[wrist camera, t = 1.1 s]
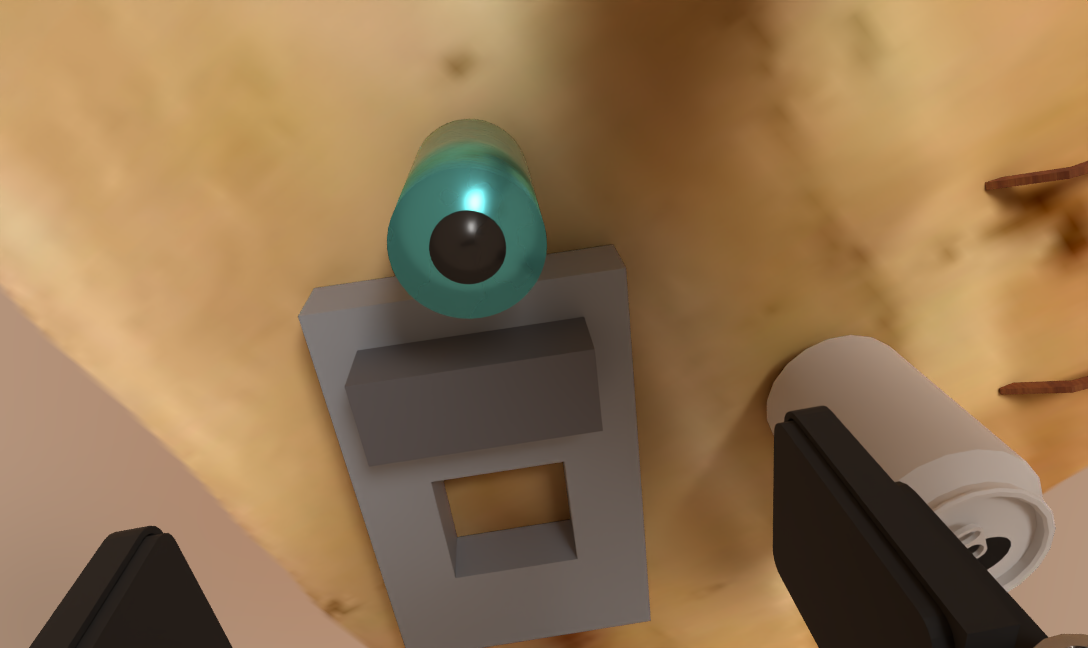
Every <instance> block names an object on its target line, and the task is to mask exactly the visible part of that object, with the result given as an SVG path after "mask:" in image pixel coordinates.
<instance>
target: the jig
mask: <svg viewBox="0 0 1088 648" xmlns="http://www.w3.org/2000/svg"><path fill="white" fill-rule="evenodd" d="M298 318H299V321H300V324H301V327H302V330H303V333H304V336H305V339H306V342H307V345H308V349H309V352H310V355H311V358H312V361H313V364H314V367H315V370H316V373H317V376H318V379H319V383H320V386H321V389H322V392H323V395H324V398H325V401H326V404H327V407H328V410H329V413H330V416H331V420H332V423H333V426H334V429H335V432H336V435H337V438H338V441H339V444H340V447H341V450H342V454H343V457H344V460H345V463H346V466H347V469H348V472H349V475H350V478H351V481H352V484H353V487H354V491H355V494H356V497H357V500H358V503H359V506H360V509H361V512H362V515H363V518H364V521H365V524H366V528H367V531H368V534H369V537H370V540H371V543H372V546H373V549H374V552H375V555H376V558H377V562H378V565H379V568H380V571H381V574H382V577H383V580H384V583H385V586H386V589H387V592H388V595H389V599H390V602H391V605H392V608H393V611H394V614H395V617H396V620H397V623H398V626H399V629H400V632H401V636H402V639H403V642H404V645H405V648H484V647H490V646H496V645H503V644H509V643H515V642H521V641H527V640H534V639H540V638H546V637H552V636H559V635H565V634H571V633H577V632H584V631H590V630H596V629H602V628H608V627H615V626H621V625H627V624H633V623H640V622H646V621H651V618H650V604H649V589H648V575H647V561H646V546H645V532H644V518H643V503H642V489H641V475H640V460H639V446H638V432H637V417H636V403H635V389H634V374H633V360H632V346H631V331H630V317H629V303H628V288H627V274H626V267H625V265H624V263H623V261H622V260H621V258H620V256H619V254H618V252H617V251H616V249H615V247H614V245H607V246H600V247H593V248H587V249H580V250H573V251H566V252H559V253H552V254H546V258H545V263H544V266H543V269H542V272H541V274H540V276H539V278H538V280H537V282H536V283H535V285H534V286H533V288H532V289H531V290H530V291H529V292H528V294H527V295H526V296H525V297H524V298H523V299H521V300H520V301H519V302H518V303H516V304H515V305H513V306H512V307H510V308H509V309H507V310H504V311H502V312H500V313H497V314H495V315H492V316H487V317H483V318H474V319H464V318H455V317H450V316H446V315H442V314H439V313H437V312H435V311H432V310H430V309H428V308H427V307H425V306H423V305H422V304H420V303H419V302H418V301H416V300H415V299H414V298H413V297H412V296H411V295H409V294H408V292H407V291H406V290H405V289H404V288H403V287H402V285H401V284H400V282H399V281H398V279H397V278H396V276H395V277H388V278H381V279H374V280H368V281H361V282H354V283H347V284H340V285H333V286H326V287H320V288H314V289H313V291H312V293H311V295H310V296H309V298H308V300H307V302H306V303H305V305H304V307H303V308H302V310H301V312H300V314H299V315H298ZM558 462H563V467H564V474H565V481H566V489H567V496H568V503H569V511H570V518H571V519H570V520H564V521H558V522H551V523H545V524H538V525H532V526H526V527H519V528H513V529H506V530H500V531H494V532H487V533H481V534H474V535H468V536H462V537H457V534H456V530H455V526H454V522H453V518H452V514H451V510H450V506H449V502H448V497H447V493H446V489H445V485H444V481H443V480H448V479H454V478H461V477H467V476H474V475H480V474H487V473H493V472H500V471H506V470H513V469H519V468H526V467H532V466H539V465H545V464H552V463H558Z"/></svg>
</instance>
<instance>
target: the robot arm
mask: <svg viewBox="0 0 1088 648" xmlns="http://www.w3.org/2000/svg"><path fill="white" fill-rule="evenodd" d="M773 555H774V560H775V564H776V567H777V570H778V572H779V574H780V576H781V578H782V580H783V582H784V584H785V586H786V588H787V589H788V591H789V593H790V595H791V597H792V599H793V601H794V602H795V604H796V606H797V608H798V610H799V612H800V614H801V615H802V617H803V619H804V621H805V623H806V625H807V627H808V628H809V630H810V632H811V634H812V636H813V638H814V640H815V642H816V643H817V645H818V647H819V648H1088V635H1084V634H1060V635H1057V636H1053V637H1048V636H1047V635H1046V634H1045V633H1044V632H1043V631H1042V630H1041V629H1040V628H1039V626H1038V625H1037V624H1036V623H1035V622H1034V621H1033V620H1032V619H1031V618H1030V617H1029V616H1028V614H1027V613H1026V612H1025V611H1024V610H1023V609H1022V608H1021V607H1020V606H1019V605H1018V603H1017V602H1016V601H1015V600H1014V599H1013V598H1012V597H1011V596H1010V595H1009V594H1008V592H1007V591H1006V590H1005V589H1004V588H1003V587H1002V586H1001V585H1000V584H999V583H998V581H997V580H996V579H995V578H994V577H993V576H992V575H991V574H990V573H989V572H988V570H987V569H986V568H985V567H984V566H983V565H982V564H981V563H980V562H979V561H978V560H977V558H976V557H975V556H974V555H973V554H972V553H971V552H970V551H969V550H968V549H967V547H966V546H965V545H964V544H963V543H962V542H961V541H960V540H959V539H958V538H957V536H956V535H955V534H954V533H953V532H952V531H951V530H950V529H949V528H948V527H947V525H946V524H945V523H944V522H943V521H942V520H941V519H940V518H939V517H938V516H937V515H936V513H935V512H934V511H933V510H932V509H931V508H930V507H929V506H928V505H927V504H926V502H925V501H924V500H923V499H922V498H921V497H920V496H919V495H918V494H917V493H916V491H914V490H913V489H912V488H911V487H910V486H909V485H907V484H905V483H903V482H900V481H898V482H894V481H893V480H892V479H891V478H890V476H889V475H888V474H887V473H886V472H885V471H884V470H883V468H882V467H881V466H880V465H879V464H878V463H877V462H876V461H875V459H874V458H873V457H872V456H871V455H870V454H869V453H868V452H867V450H866V449H865V448H864V447H863V446H862V445H861V444H860V442H859V441H858V440H857V439H856V438H855V437H854V436H853V435H852V433H851V432H850V431H849V430H848V429H847V428H846V427H845V426H844V424H843V423H842V422H841V421H840V420H839V419H838V418H837V416H836V415H835V414H834V413H833V412H832V411H831V410H830V409H829V408H828V407H827V406H823V405H822V406H816V407H811V408H805V409H799V410H794V411H789V412H787V413H786V415H785V417H784V422H781V423H777V424H776V425H775V428H774V488H773ZM29 648H232V646H231V644H230V642H229V640H228V638H227V636H226V635H225V633H224V631H223V629H222V627H221V625H220V623H219V621H218V619H217V618H216V616H215V614H214V612H213V610H212V608H211V606H210V604H209V603H208V601H207V599H206V597H205V595H204V593H203V591H202V590H201V588H200V586H199V584H198V582H197V580H196V578H195V576H194V574H193V572H192V571H191V569H190V567H189V565H188V563H187V561H186V560H185V557H184V556H183V554H182V552H181V550H180V548H179V546H178V544H177V542H176V541H175V539H174V538H173V536H172V535H170V534H169V533H163V532H162V531H161V530H160V529H159V528H157V527H156V526H147V527H141V528H135V529H131V530H124V531H119V532H114V533H112V534H110V535H109V536H108V537H107V538H106V539H105V540H104V541H103V543H102V544H101V546H100V547H99V548H98V550H97V551H96V553H95V554H94V556H93V557H92V558H91V560H90V562H89V563H88V564H87V566H86V567H85V568H84V570H83V571H82V573H81V574H80V576H79V577H78V578H77V580H76V582H75V583H74V584H73V586H72V587H71V589H70V590H69V591H68V593H67V594H66V596H65V597H64V599H63V600H62V602H61V603H60V604H59V606H58V607H57V609H56V610H55V611H54V613H53V614H52V616H51V617H50V619H49V620H48V622H47V623H46V624H45V626H44V627H43V629H42V630H41V631H40V633H39V634H38V636H37V637H36V639H35V640H34V641H33V643H32V644H31V646H30V647H29Z"/></svg>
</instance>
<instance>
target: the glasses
mask: <svg viewBox="0 0 1088 648" xmlns="http://www.w3.org/2000/svg"><path fill="white" fill-rule="evenodd" d="M1087 173H1088V161H1086V162H1083V163H1081V164H1078V165H1075V166H1072V167H1067V168H1060V169H1054V170H1047V171H1040V172H1033V173H1026V174H1020V175H1013V176H1006V177H1001V178H998V179H995V180H992V181H989V182H986V183H985V186H986V190H990V189H998V188H1005V187H1012V186H1019V185H1027V184H1034V183H1041V182H1048V181H1056V180H1063V179H1070V178H1073V177H1077V176H1080V175H1083V174H1087ZM1085 389H1088V376H1087V377H1083V378H1079V379H1076V380H1072V381H1047V382H1020V383H1012V384H1009V385H1006V386H1004V387H1001V388H1000V393H1001V394H1035V393H1071V392H1076V391H1080V390H1085Z"/></svg>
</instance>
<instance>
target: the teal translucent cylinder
mask: <svg viewBox="0 0 1088 648" xmlns="http://www.w3.org/2000/svg"><path fill="white" fill-rule="evenodd" d="M387 250H388V256H389V260H390V263H391V266H392V269H393V271H394V273H395V276H396V278H397V279H398V281H399V282H400V284H401V285H402V287H403V288H404V289H405V290H406V291H407V292H408V294H409V295H411V296H412V297H413V298H414V299H415V300H416V301H418V302H419V303H420V304H422V305H423V306H425V307H427V308H428V309H430V310H432V311H435V312H437V313H439V314H442V315H446V316H450V317H455V318H464V319H474V318H483V317H487V316H492V315H495V314H497V313H500V312H502V311H504V310H507V309H509V308H510V307H512V306H513V305H515V304H516V303H518V302H519V301H520V300H521V299H523V298H524V297H525V296H526V295H527V294H528V292H529V291H530V290H531V289H532V288H533V286H534V285H535V283H536V282H537V280H538V278H539V276H540V274H541V272H542V269H543V266H544V263H545V258H546V251H547V237H546V231H545V226H544V223H543V219H542V216H541V212H540V209H539V205H538V202H537V198H536V195H535V191H534V188H533V184H532V181H531V177H530V174H529V171H528V167H527V164H526V161H525V158H524V155H523V153H522V151H521V149H520V147H519V146H518V144H517V143H516V142H515V140H514V139H513V138H512V137H511V136H510V135H509V134H508V133H506V132H505V131H504V130H502V129H501V128H499V127H498V126H496V125H494V124H491V123H488V122H486V121H481V120H476V119H463V120H457V121H453V122H450V123H447V124H445V125H443V126H441V127H439V128H438V129H436V130H435V131H434V132H432V133H431V134H430V135H429V136H428V137H427V139H426V140H425V141H424V142H423V144H422V145H421V147H420V149H419V151H418V153H417V156H416V158H415V161H414V163H413V165H412V168H411V170H410V173H409V175H408V178H407V180H406V183H405V185H404V188H403V190H402V192H401V195H400V197H399V200H398V202H397V205H396V207H395V210H394V212H393V215H392V217H391V220H390V224H389V227H388V235H387Z"/></svg>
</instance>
